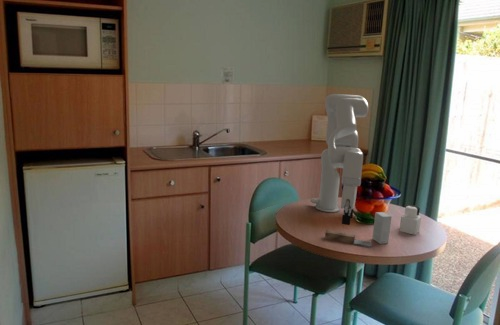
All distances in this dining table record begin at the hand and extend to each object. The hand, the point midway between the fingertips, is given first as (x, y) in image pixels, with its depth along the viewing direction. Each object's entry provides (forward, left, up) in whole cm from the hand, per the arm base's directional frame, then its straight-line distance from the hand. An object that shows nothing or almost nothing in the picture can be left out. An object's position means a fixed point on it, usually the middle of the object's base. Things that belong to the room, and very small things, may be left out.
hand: (347, 220), depth 176 cm
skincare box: (+14, +8, -9) cm, 18 cm away
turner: (+1, +1, -9) cm, 9 cm away
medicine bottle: (+26, +27, -9) cm, 38 cm away
